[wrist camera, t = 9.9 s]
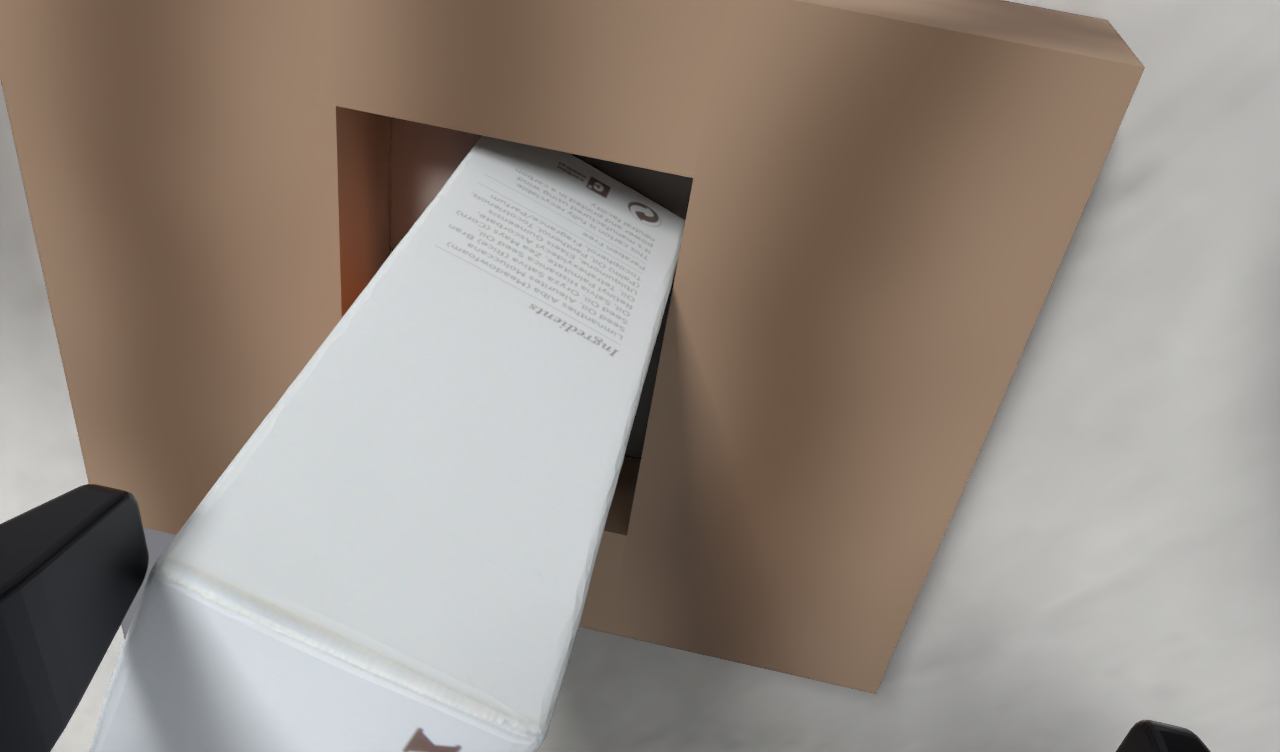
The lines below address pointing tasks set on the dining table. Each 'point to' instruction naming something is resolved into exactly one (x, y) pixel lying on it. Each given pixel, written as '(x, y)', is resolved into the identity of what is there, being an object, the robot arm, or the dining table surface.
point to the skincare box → (418, 489)
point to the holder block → (705, 276)
